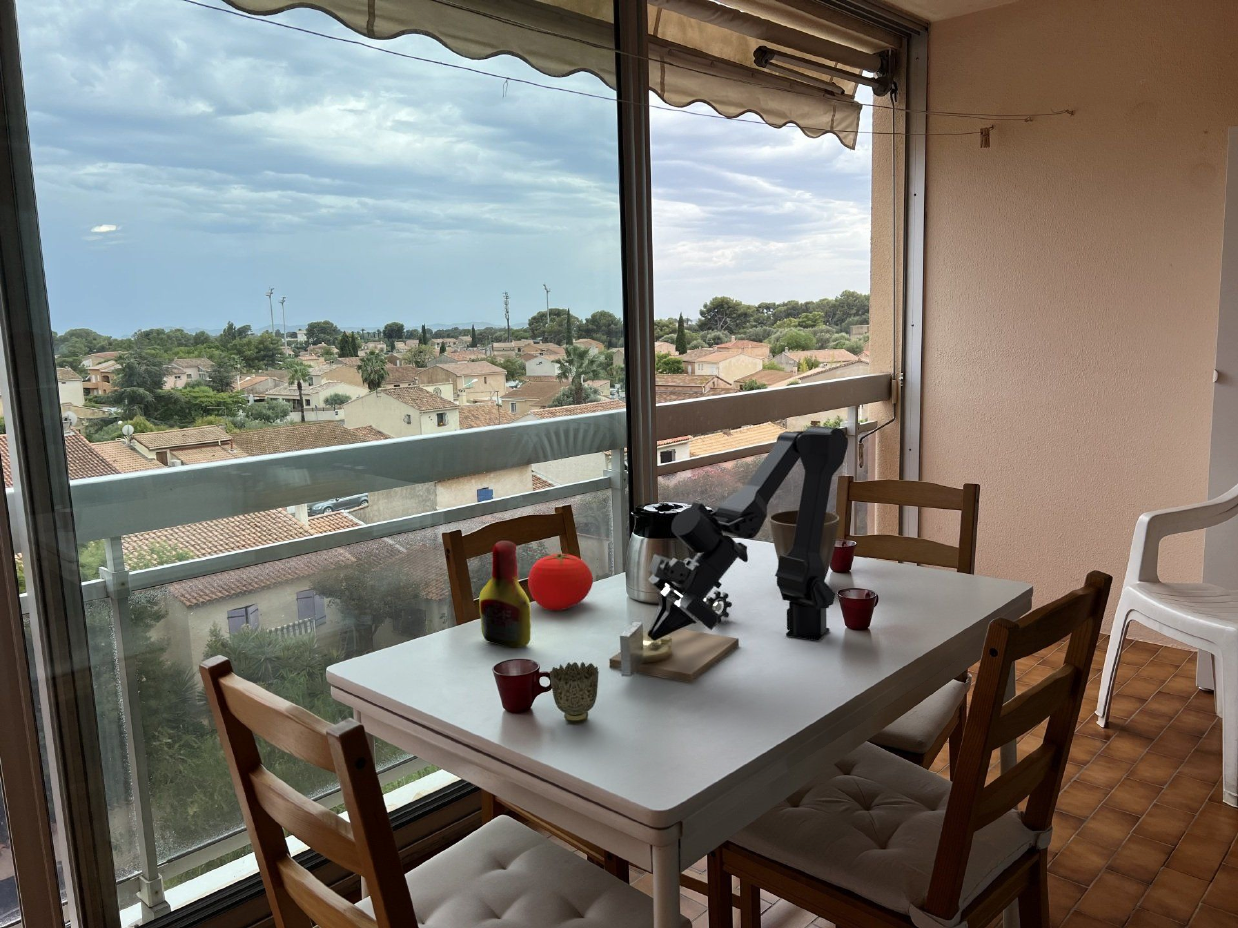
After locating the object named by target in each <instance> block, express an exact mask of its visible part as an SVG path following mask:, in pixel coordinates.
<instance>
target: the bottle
mask: <svg viewBox="0 0 1238 928" xmlns="http://www.w3.org/2000/svg"><path fill="white" fill-rule="evenodd" d="M516 553H517V544H516V543H514V542H512V541H510V540H500V541H497V542H496V543H495V544H494V545H493V548H492V553H491V554H492V572H491V578H490V579H489V580H488V582H487V583H486V585H484V586H483V588H481V591H480V593H479V596H478V600H479V601H478V602H479V603H478V605H479V616H480V624H481V628H480V629H481V633H482V636H483V638H484V640H485V641H486V642H488V643H492V644H496V645H499V646H503V647H506V648H512V649H517V648H522V647H525V646H527V645H529V643H530V642H531V634H532V633H531V631H532V630H531V629H532V624H531V619H532V617H531V613H532V610H531V603H530V599H529V597H528V595H527V594H526V592H525V591H524V589H523V587H522V586H521V585H520V583H519V573H518V559H517V554H516Z"/></svg>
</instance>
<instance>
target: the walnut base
mask: <svg viewBox="0 0 1238 928" xmlns="http://www.w3.org/2000/svg"><path fill="white" fill-rule="evenodd" d="M668 635H669V636H670V637H671V638H672V652H673V653H672V655H671V656H670V657H669V658H667V659H665V660H662V661H658V662H651V663H643V664H642V665H641V666H640V667H639V668H638V669H637V671H636V672H635V673H639V674H644V675H649V676H654V677H660V678H663V679H670V680H674V681H678V682H679V681H681V682H685V683H689V684H692V683H694V681H695V680H697V679H699V678H700V677H701V676H702V675H703V674H705V673H706V672H707V671H708V670H710V669H712V667H714V666H715V665H716V664H718V663H719V662H720V661H722V660H723V659H724V658H726V657H727V656H728V655H730V653H732V652H734V651H735V650H736V649H737V648H739V646H740V640H739V638H738V637H732V636H724V635H719V634H714V633H709V632H708V633H707V632H702V631H701V632H700V631H694V630H689V629H682V628H681V629H678V630H676V631H674V632H672V633H670V634H668ZM608 663H609V668H613V669H618V670H621V651H620V652H618V653H617V654H614V655H613V656H612V657H610V658H609V662H608Z"/></svg>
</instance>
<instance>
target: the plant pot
mask: <svg viewBox="0 0 1238 928" xmlns="http://www.w3.org/2000/svg"><path fill="white" fill-rule="evenodd" d="M798 511H799V509H795V510H794V509H793V510H784V511H780V512H776V513H773V514H772V515H770V516H769V524H770V529H771V535H772V541H773V545H774V551H775V553H776V554H775V555H776V557H777V560H778V559H779V557H780V556H781V555H783V556H786V555H787V554H788V552H789V551H790V550H791V549H792V546H793V541H794V535H795V529H796V523H797V517H798ZM839 522H840V516H839V515H838V514H836V513H833V512H830V511H829V512H828V511H826V516H825V521H824V527H823V533H822V539H821V545H820V552H819V553H820V556H821V559H822V562H823V564H824V567H825V579H824V581H825V580H826V578H827V575H828V573H829V570H830V566H831V564H832V559H833V556H834V553H835V552H834V551H835V546H836V542H837V538H838V537H837V536H838V529H839ZM825 582H826V581H825Z"/></svg>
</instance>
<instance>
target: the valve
mask: <svg viewBox="0 0 1238 928" xmlns="http://www.w3.org/2000/svg"><path fill="white" fill-rule="evenodd" d="M713 595H714V596H713V597H712V596H709V595H707V596H706V597H705V599H704V601H705V602H706V603H707V605H708V606H710V607H711V608H712V609H713V610H714V611H715V612H717V613H718V621H719V622H718V623H717V624H721V623H722V617H723V618H725V619H728V618H729V617H730V612H729V611H727V610H728V608H732V606H733V603H732V602H731V601H729V600H727V599H729V593H727V592H721V591H719V590H718V589H716V590H714V591H713ZM721 595H722V596H721ZM720 602H722V604H723V606H722V604H721V603H720ZM722 607H723V608H722ZM720 611H721V612H720ZM719 612H720V613H719Z"/></svg>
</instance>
